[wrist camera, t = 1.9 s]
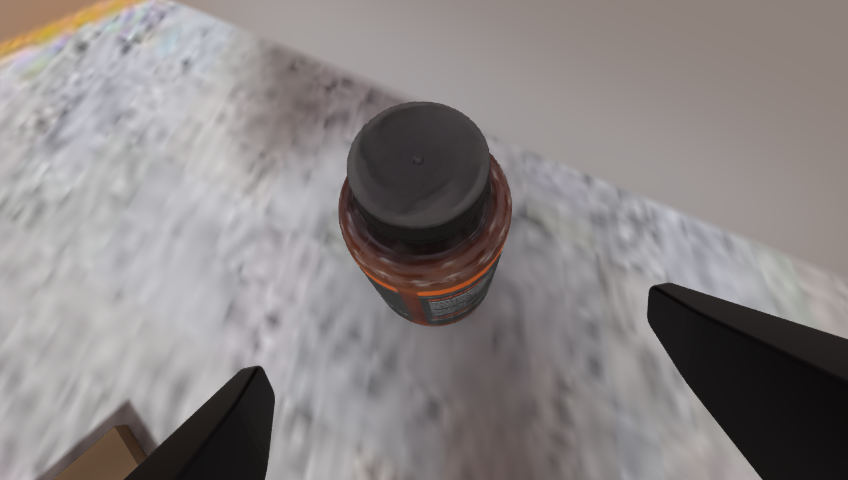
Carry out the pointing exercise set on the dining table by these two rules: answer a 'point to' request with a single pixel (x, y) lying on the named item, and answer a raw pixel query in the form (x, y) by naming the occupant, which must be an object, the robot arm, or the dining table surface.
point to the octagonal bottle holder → (107, 458)
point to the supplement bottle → (425, 211)
